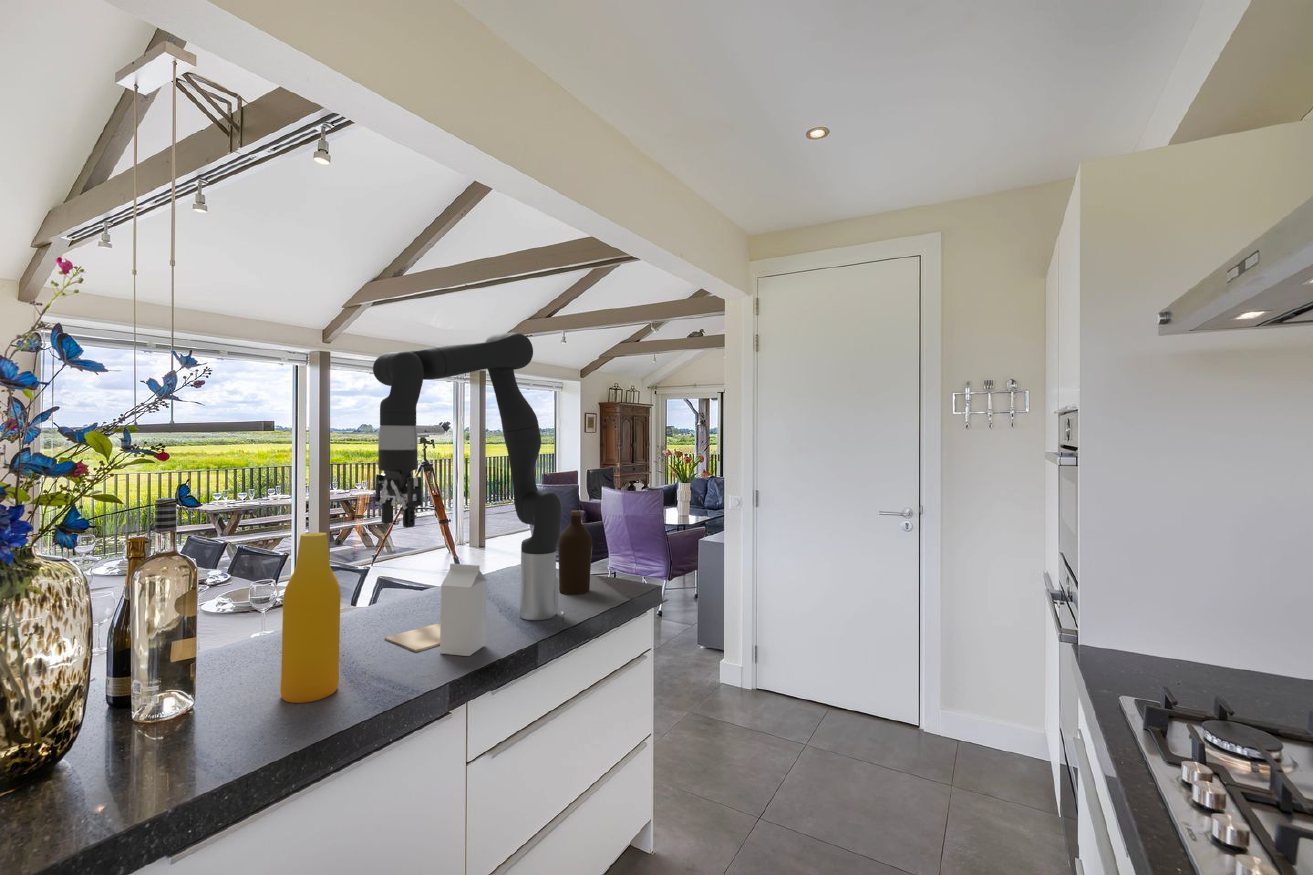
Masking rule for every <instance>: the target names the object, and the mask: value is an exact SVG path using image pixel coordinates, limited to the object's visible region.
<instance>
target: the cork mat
mask: <svg viewBox="0 0 1313 875" xmlns="http://www.w3.org/2000/svg"><path fill="white" fill-rule="evenodd" d="M440 624H441V622H438V623H434V624H429V625H427V626H424V627H423V626H422V627H419V628H415V629H412V630H411V629H410V630H407V631H403V632H399V633H396V634H392V635H388V636H385V637H384V638H383V639H384V640H385V641H387V642H390V643H392V644H395V645H397V646H399V647H401V648H404V649H406V650H408V651H411V652H413V653H417V652H421V651H425V650H428V649H432V648H435V647H438V646H439V647H440Z"/></svg>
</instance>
